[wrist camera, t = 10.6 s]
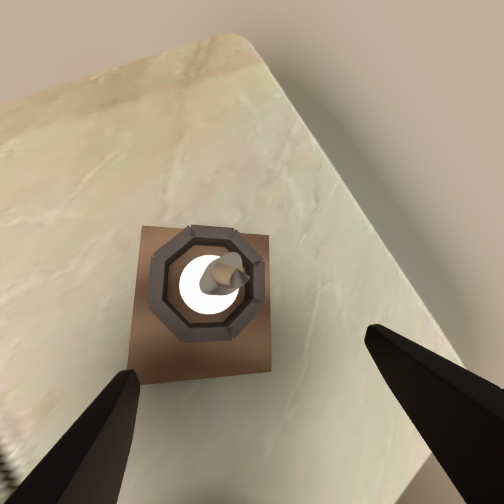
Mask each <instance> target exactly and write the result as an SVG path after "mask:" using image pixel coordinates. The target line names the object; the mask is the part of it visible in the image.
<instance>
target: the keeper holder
mask: <svg viewBox="0 0 504 504" xmlns="http://www.w3.org/2000/svg"><path fill="white" fill-rule="evenodd" d="M230 252H236V253H238V254H239V255H240V257H241V259H242V268H243V272H244V273H245V274H246V275H248V276H249V277H250V279H249V281H248V282H247V283H246V284H244V285H243V286H241V287H239V290H238V294H237V296H236V298H235V300H234V301H233V302H232V304H231V305H230V306H229V307H227V308H226V309H225V310H223V311H221V312H218V313H215V314H203V313H199V312H197V311H194V310H193V309H191V308H190V307H189V306H188V305H187V304H186V303H185V302H184V300H183V298H182V296H181V292H180V279H181V275H182V273H183V271H184V269H185V268H186V266H187V265H188V264H189V263H190V262H192V261H193V260H194V259H196V258H198V257H201V256H205V255H215V256H219V257H222V256H223V255H225V254H227V253H230ZM127 369H134V370H135V372H136V375H137V377H138V379H139V382H140V385H144V384H154V383H164V382H174V381H183V380H193V379H203V378H213V377H223V376H233V375H242V374H252V373H262V372H271V333H270V276H269V235H258V234H245V233H239V232H238V231H237V230H235V231H234V228H226V227H214V226H201V225H191V228H190V227H189V225H188V226H187V227H186V228H185V229H179V228H165V227H152V226H142V231H141V241H140V251H139V260H138V270H137V279H136V289H135V298H134V308H133V318H132V327H131V337H130V346H129V356H128V365H127Z"/></svg>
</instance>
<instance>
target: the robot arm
mask: <svg viewBox="0 0 504 504" xmlns="http://www.w3.org/2000/svg"><path fill="white" fill-rule="evenodd" d="M364 341H365V345H366V347H367V349H368V351H369V353H370V354H371V356H372V358H373V360H374V362H375V363H376V365H377V367H378V369H379V371H380V373H381V374H382V376H383V378H384V380H385V381H386V383H387V385H388V386H389V388H390V389H391V391H392V393H393V394H394V396H395V397H396V399H397V400H398V402H399V403H400V405H401V406H402V408H403V409H404V411H405V412H406V414H407V415H408V417H409V418H410V420H411V421H412V423H413V424H414V426H415V427H416V429H417V430H418V432H419V433H420V435H421V436H422V438H423V439H424V441H425V442H426V444H427V445H428V447H429V448H430V450H431V451H432V453H433V454H434V456H435V457H436V459H437V460H438V462H439V463H440V465H441V466H442V468H443V469H444V471H445V472H446V474H447V475H448V477H449V478H450V479H451V481H452V483H453V484H454V486H455V487H456V489H457V490H458V492H459V493H460V495H461V496H462V498H463V499H464V501H465V502H466V504H504V389H501V388H500V387H498V386H497V385H495V384H493V383H491V382H489V381H487V380H485V379H483V378H481V377H479V376H478V375H476V374H474V373H472V372H470V371H468V370H466V369H464V368H462V367H461V366H459V365H457V364H455V363H453V362H451V361H449V360H447V359H445V358H443V357H441V356H440V355H438V354H436V353H434V352H432V351H430V350H428V349H426V348H424V347H422V346H420V345H419V344H417V343H415V342H413V341H411V340H409V339H407V338H405V337H403V336H401V335H400V334H398V333H396V332H394V331H392V330H390V329H388V328H386V327H384V326H382V325H380V324H373V325H369V326H368V328H367V331H366V335H365V339H364ZM139 395H140V382H139V379H138V377H137V375H136V372H135V370H134V369H126V370H121V371H120V372H118V373H117V374H116V376H115V377H114V378H113V379H112V380H111V381H110V382H109V384H108V385H107V386H106V387H105V388H104V389H103V390H102V392H101V393H100V394H99V395H98V396H97V397H96V398H95V400H94V401H93V402H92V403H91V404H90V405H89V406H88V408H87V409H86V410H85V411H84V412H83V413H82V414H81V416H80V417H79V418H78V419H77V420H76V421H75V422H74V424H73V425H72V426H71V427H70V428H69V429H68V430H67V432H66V433H65V434H64V435H63V436H62V437H61V438H60V440H59V441H58V442H57V443H56V444H55V445H54V446H53V448H52V449H51V450H50V451H49V452H48V453H47V454H46V456H45V457H44V458H43V459H42V460H41V461H40V462H39V463H38V465H37V466H36V467H35V468H34V469H33V470H32V471H31V473H30V474H29V475H28V476H27V477H26V478H25V479H24V481H23V482H22V483H21V484H20V485H19V486H18V487H17V489H16V490H15V491H14V492H13V493H12V494H11V495H10V497H9V498H8V499H7V500H6V501H5V502H4V503H3V504H117V500H118V496H119V492H120V488H121V484H122V480H123V476H124V472H125V468H126V464H127V460H128V456H129V452H130V448H131V444H132V439H133V433H134V427H135V420H136V414H137V408H138V401H139Z"/></svg>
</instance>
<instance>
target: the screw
mask: <svg viewBox="0 0 504 504" xmlns="http://www.w3.org/2000/svg"><path fill="white" fill-rule="evenodd" d="M249 279H250V277H249V276H248V275H246V274H245V273H244V272H243V268H242V259H241V257H240V255H239V254H238V253H236V252H230V253H227V254H225V255H223V256H222V257H219V256H215V255H205V256H201V257H198V258H196V259H194V260H193V261H192V262H190V263H189V264H188V265H187V266H186V268H185V269H184V271H183V273H182V275H181V279H180V292H181V296H182V298H183V300H184V302H185V303H186V304H187V305H188V306H189V307H190V308H191V309H193V310H194V311H197V312H199V313H203V314H215V313H218V312H221V311H223V310H225V309H226V308H227V307H229V306H230V305H231V304H232V302H233V301H234V300H235V298H236V296H237V294H238V290H239V287H241V286H243V285H244V284H246V283H247V282H248V281H249Z"/></svg>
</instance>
